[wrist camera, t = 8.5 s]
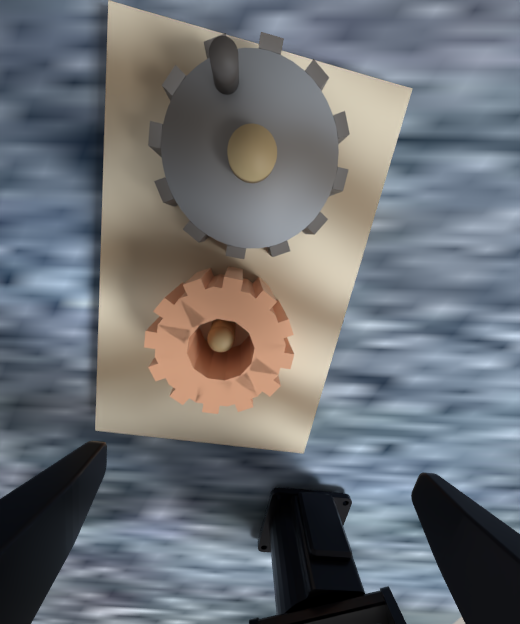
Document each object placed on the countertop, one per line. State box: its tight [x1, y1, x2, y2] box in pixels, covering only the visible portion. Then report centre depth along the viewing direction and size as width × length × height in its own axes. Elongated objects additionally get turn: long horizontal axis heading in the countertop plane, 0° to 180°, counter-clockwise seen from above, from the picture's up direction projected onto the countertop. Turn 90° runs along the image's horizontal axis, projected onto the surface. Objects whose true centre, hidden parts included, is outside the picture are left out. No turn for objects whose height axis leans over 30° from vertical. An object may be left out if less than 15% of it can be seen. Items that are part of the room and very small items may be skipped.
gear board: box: [95, 0, 412, 453], centre depth 14 cm, size 22×14×5 cm, turn 169°
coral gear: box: [144, 266, 294, 414], centre depth 14 cm, size 7×7×4 cm
